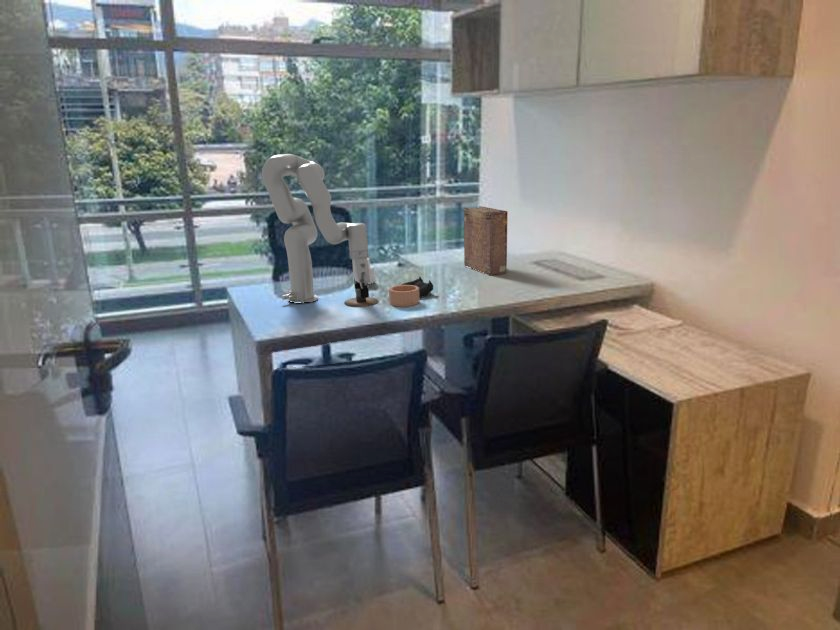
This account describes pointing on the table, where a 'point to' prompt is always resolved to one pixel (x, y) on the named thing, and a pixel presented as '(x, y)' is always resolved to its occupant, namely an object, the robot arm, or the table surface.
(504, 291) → the table surface
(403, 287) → the terracotta bowl
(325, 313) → the table surface
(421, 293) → the gaming controller
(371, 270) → the medicine bottle
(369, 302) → the walnut lid
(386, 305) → the table surface
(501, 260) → the brown lidded box
